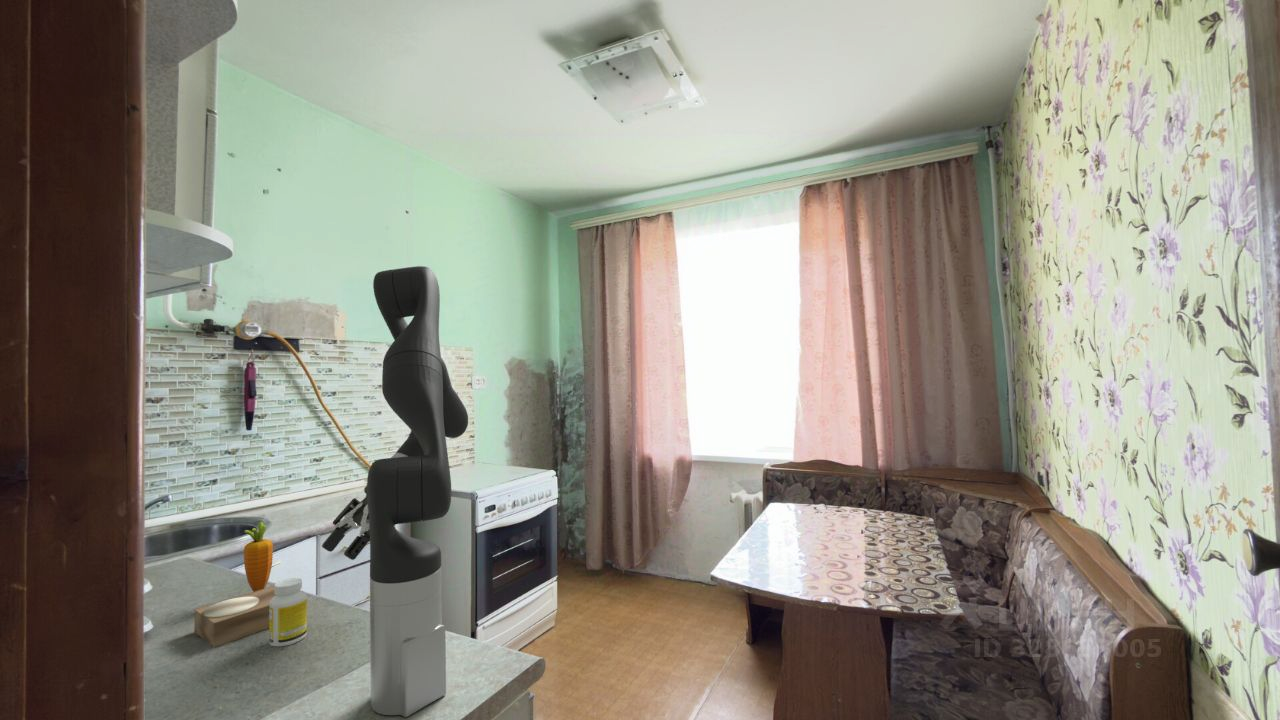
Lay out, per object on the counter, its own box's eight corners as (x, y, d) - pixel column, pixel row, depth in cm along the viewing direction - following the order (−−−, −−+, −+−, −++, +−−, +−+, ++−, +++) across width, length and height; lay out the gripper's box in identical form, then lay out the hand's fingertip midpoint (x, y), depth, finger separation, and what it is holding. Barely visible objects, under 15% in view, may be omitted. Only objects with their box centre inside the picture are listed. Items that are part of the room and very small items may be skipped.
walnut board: (305, 614, 100) (305, 592, 100) (214, 647, 88) (214, 621, 88) (282, 603, 105) (282, 581, 105) (194, 632, 94) (194, 607, 94)
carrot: (257, 601, 107) (257, 527, 107) (237, 599, 108) (237, 526, 108) (278, 591, 111) (278, 520, 112) (259, 589, 112) (259, 519, 113)
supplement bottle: (314, 632, 92) (314, 576, 93) (288, 648, 87) (288, 589, 87) (287, 631, 93) (287, 575, 94) (260, 646, 88) (260, 587, 88)
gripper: (364, 467, 109) (303, 536, 99) (402, 472, 101) (340, 549, 91) (388, 487, 113) (333, 556, 103) (427, 494, 105) (371, 570, 95)
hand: (336, 553), depth 97 cm, fingers open, 8 cm apart
